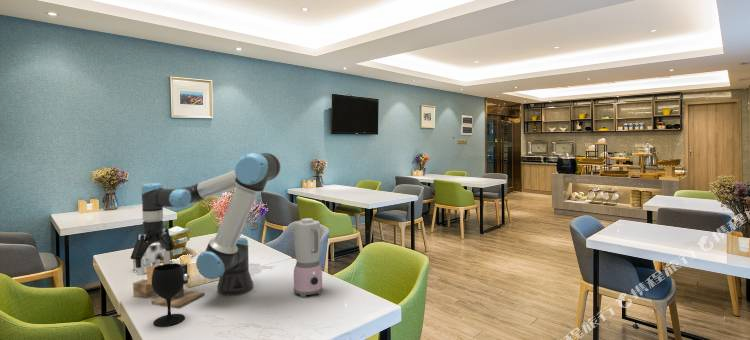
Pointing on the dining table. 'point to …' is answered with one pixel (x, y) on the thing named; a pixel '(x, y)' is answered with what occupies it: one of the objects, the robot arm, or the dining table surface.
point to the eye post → (181, 292)
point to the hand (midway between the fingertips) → (154, 270)
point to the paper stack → (179, 242)
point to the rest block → (142, 289)
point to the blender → (307, 257)
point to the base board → (180, 299)
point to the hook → (150, 272)
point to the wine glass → (168, 290)
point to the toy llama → (151, 256)
